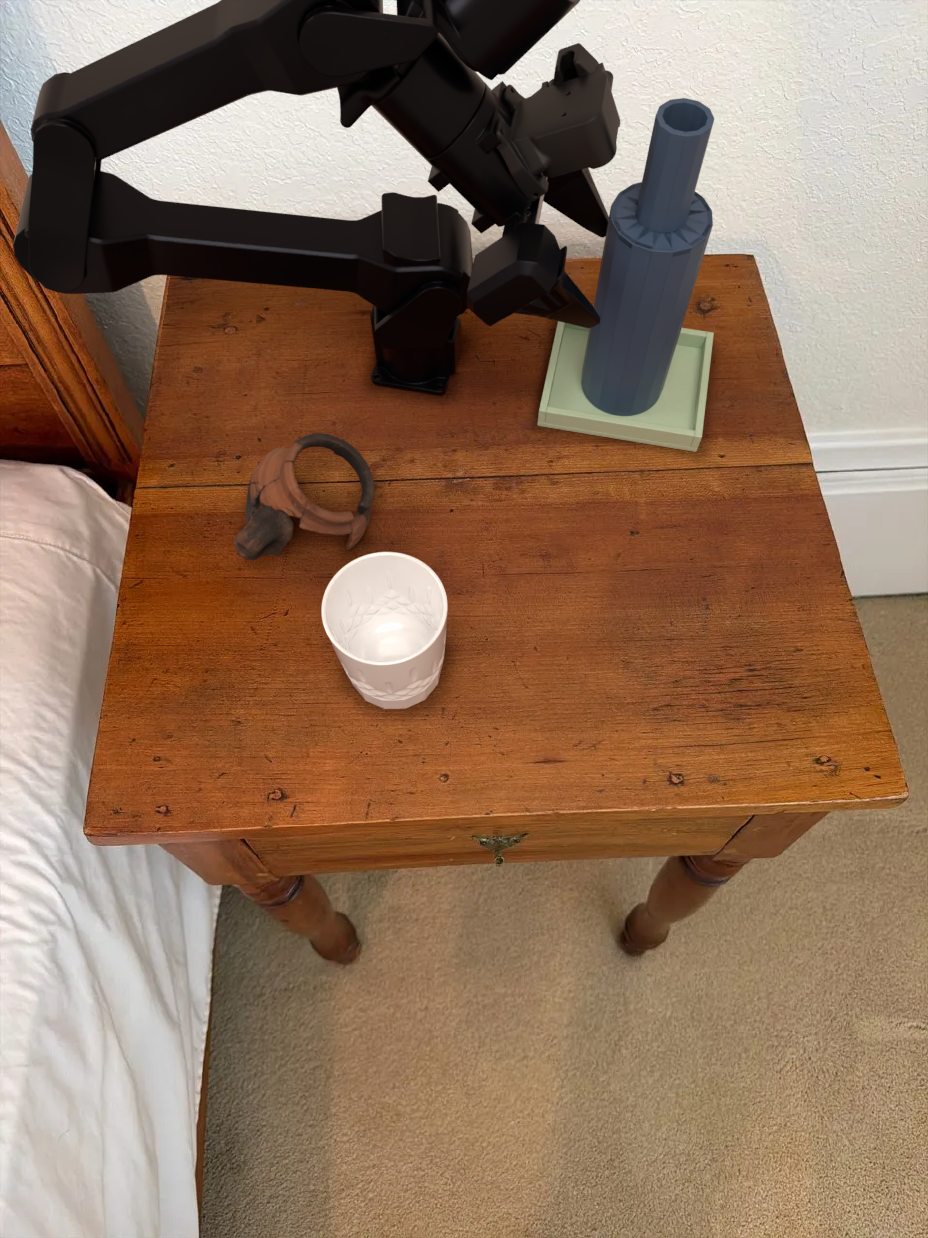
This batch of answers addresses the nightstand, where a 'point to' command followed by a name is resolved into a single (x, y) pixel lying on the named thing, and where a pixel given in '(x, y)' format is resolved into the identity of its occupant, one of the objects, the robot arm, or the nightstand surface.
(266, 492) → the brown grey sculpted ring
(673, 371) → the tray
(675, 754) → the nightstand surface
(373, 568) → the white cup
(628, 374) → the carafe
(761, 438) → the nightstand surface
